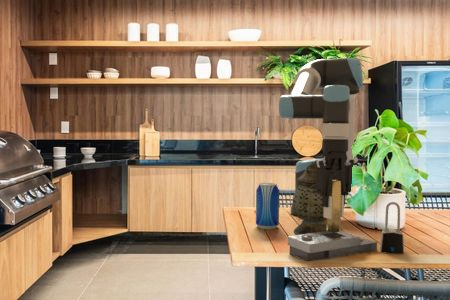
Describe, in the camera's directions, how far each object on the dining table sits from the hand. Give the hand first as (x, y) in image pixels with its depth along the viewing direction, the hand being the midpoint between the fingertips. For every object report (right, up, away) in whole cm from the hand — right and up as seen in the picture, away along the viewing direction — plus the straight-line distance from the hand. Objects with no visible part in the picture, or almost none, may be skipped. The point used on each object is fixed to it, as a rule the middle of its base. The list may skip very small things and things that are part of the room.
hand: (333, 217), depth 136 cm
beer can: (-17, -9, +33) cm, 38 cm away
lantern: (-2, -9, +24) cm, 26 cm away
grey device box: (0, -10, +1) cm, 10 cm away
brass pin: (0, -4, 0) cm, 4 cm away
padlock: (+18, -11, +2) cm, 21 cm away
